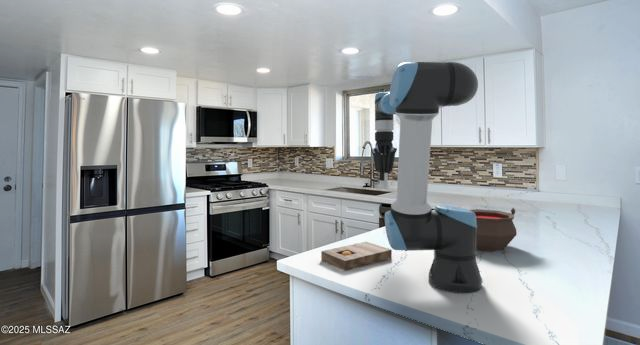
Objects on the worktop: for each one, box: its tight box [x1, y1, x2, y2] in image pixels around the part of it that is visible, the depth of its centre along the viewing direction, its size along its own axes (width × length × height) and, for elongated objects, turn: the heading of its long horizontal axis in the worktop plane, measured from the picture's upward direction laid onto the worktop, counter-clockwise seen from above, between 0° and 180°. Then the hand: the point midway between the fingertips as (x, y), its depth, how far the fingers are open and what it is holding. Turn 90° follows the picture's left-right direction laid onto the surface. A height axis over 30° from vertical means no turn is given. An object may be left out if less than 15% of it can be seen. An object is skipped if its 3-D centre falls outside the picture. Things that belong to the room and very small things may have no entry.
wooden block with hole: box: [320, 241, 393, 272], centre depth 132 cm, size 22×14×4 cm, turn 124°
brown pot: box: [469, 207, 517, 252], centre depth 147 cm, size 24×24×16 cm
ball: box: [342, 251, 351, 256], centre depth 129 cm, size 4×4×4 cm
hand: (384, 188), depth 148 cm, fingers closed
